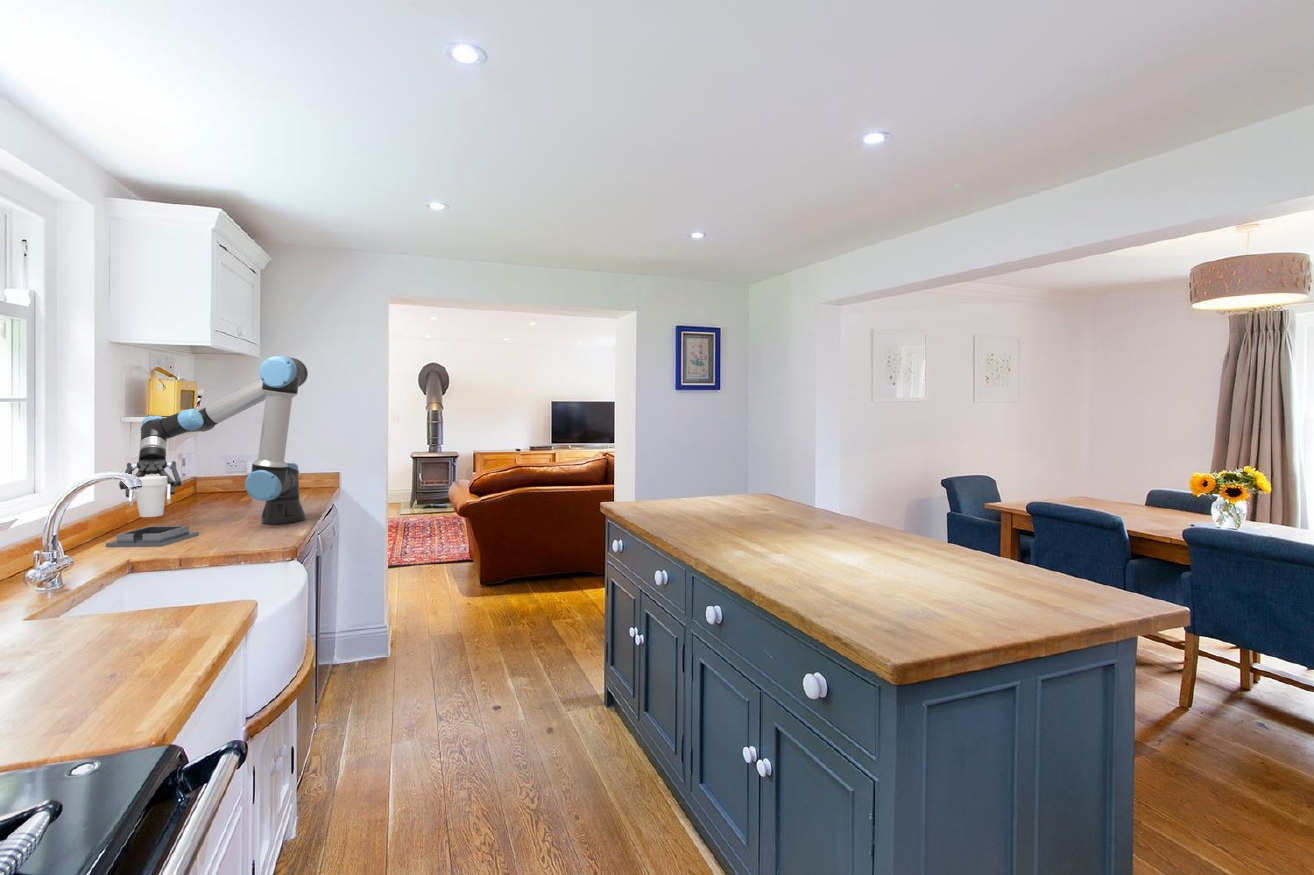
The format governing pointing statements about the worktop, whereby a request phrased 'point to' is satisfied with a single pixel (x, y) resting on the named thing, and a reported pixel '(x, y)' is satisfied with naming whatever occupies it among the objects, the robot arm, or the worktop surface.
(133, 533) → the pocket plate
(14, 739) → the worktop surface
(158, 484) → the foam cup
